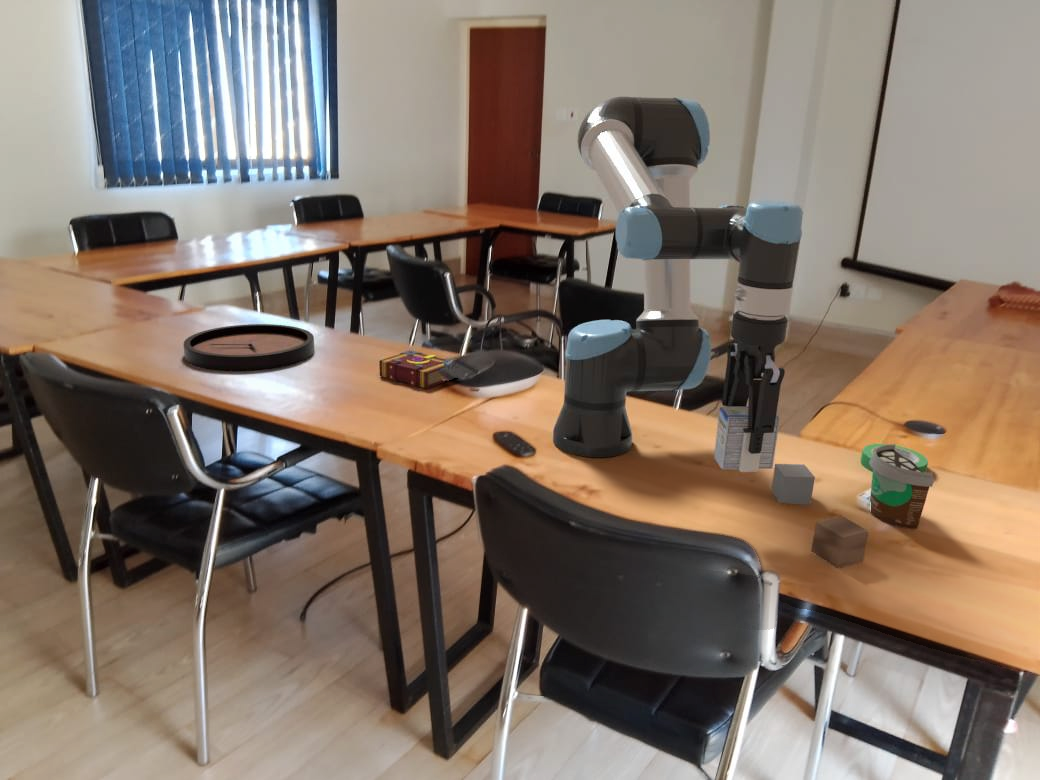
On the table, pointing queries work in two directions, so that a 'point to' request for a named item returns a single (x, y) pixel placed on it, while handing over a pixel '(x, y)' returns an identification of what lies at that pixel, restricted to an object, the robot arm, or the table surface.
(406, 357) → the decorative book
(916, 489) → the food container
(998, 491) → the table surface
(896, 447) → the tape roll
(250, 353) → the wall clock
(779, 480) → the slate grey block
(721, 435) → the medicine box
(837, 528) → the walnut block
